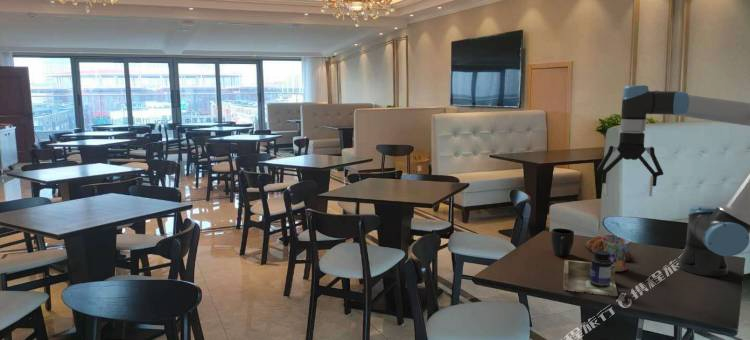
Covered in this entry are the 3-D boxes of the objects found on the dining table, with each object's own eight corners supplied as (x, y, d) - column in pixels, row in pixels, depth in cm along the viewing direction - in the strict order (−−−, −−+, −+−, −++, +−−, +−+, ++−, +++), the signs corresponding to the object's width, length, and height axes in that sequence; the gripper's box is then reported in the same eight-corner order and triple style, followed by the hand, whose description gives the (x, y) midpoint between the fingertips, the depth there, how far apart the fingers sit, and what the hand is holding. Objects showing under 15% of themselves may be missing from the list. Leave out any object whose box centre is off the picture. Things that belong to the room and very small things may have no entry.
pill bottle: (586, 281, 178) (589, 249, 176) (605, 281, 177) (607, 249, 176) (593, 287, 172) (595, 254, 170) (612, 288, 171) (615, 255, 170)
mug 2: (629, 274, 187) (631, 245, 185) (600, 271, 190) (602, 242, 188) (626, 264, 198) (628, 236, 196) (599, 261, 201) (600, 234, 199)
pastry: (582, 257, 207) (583, 237, 206) (585, 246, 221) (586, 227, 219) (630, 263, 200) (631, 242, 199) (630, 251, 214) (631, 232, 212)
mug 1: (549, 259, 203) (550, 235, 202) (550, 250, 214) (552, 227, 213) (572, 261, 200) (574, 237, 199) (572, 252, 211) (574, 229, 210)
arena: (613, 281, 180) (615, 264, 179) (617, 296, 167) (618, 278, 166) (563, 275, 185) (564, 259, 184) (563, 290, 172) (564, 272, 171)
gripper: (672, 132, 178) (666, 194, 181) (591, 130, 186) (587, 189, 190) (676, 133, 171) (670, 198, 174) (592, 131, 179) (588, 193, 183)
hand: (627, 194), depth 182 cm, fingers open, 13 cm apart
